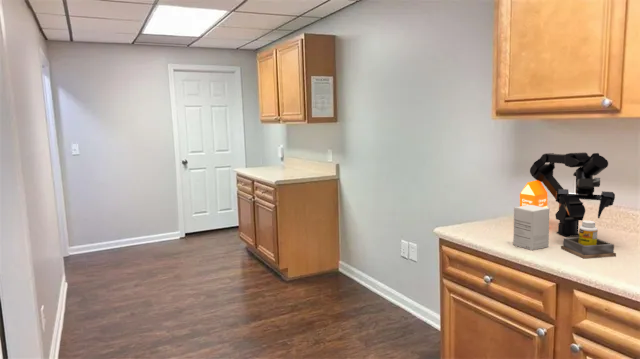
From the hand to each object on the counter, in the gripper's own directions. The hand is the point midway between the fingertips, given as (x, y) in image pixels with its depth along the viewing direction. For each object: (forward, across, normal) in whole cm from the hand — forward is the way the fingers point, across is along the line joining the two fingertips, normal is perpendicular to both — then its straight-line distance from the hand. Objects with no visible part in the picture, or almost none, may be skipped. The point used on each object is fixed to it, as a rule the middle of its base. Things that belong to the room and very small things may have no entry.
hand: (584, 216), depth 162 cm
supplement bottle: (+12, +1, +3) cm, 12 cm away
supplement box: (+12, -17, +6) cm, 22 cm away
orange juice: (-12, -16, +32) cm, 38 cm away
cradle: (+12, +1, +4) cm, 13 cm away
